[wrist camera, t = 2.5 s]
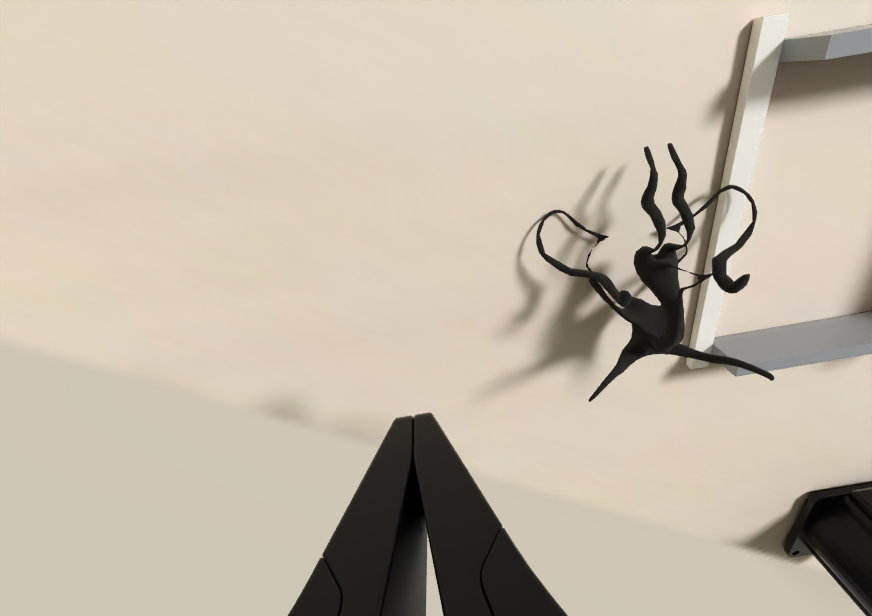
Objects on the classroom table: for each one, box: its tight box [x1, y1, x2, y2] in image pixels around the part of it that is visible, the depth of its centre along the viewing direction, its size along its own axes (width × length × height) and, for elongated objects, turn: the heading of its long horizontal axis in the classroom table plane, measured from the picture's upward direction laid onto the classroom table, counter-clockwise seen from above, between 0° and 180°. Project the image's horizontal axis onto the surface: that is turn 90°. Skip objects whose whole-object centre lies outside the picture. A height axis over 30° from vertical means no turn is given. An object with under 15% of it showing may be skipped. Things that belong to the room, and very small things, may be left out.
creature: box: [536, 143, 774, 402], centre depth 14 cm, size 8×5×8 cm
